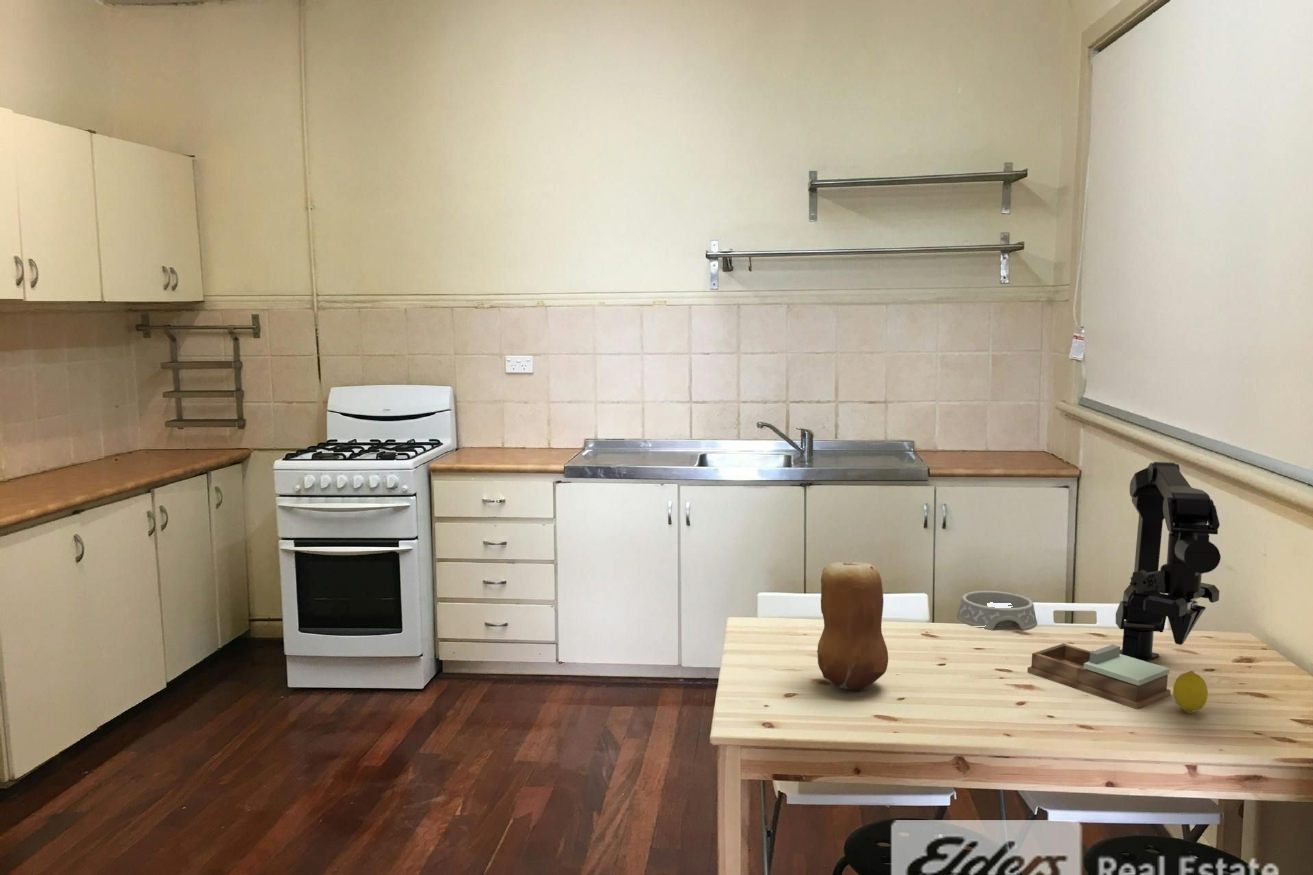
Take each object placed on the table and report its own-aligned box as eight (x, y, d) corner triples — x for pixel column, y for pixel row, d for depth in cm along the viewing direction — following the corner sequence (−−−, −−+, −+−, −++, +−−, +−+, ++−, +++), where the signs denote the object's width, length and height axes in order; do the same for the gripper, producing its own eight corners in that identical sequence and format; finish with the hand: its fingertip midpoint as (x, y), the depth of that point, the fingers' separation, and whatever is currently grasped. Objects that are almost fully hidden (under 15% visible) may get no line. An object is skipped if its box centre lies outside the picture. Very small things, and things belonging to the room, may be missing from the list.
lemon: (1197, 707, 185) (1201, 666, 184) (1211, 719, 179) (1214, 677, 178) (1166, 706, 185) (1169, 665, 184) (1179, 718, 180) (1182, 676, 179)
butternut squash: (842, 670, 203) (846, 550, 200) (900, 687, 194) (904, 562, 191) (801, 687, 194) (804, 562, 190) (859, 707, 184) (863, 575, 181)
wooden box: (1027, 672, 203) (1028, 653, 202) (1061, 660, 209) (1062, 642, 209) (1136, 708, 184) (1138, 688, 183) (1170, 694, 191) (1171, 674, 190)
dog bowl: (948, 609, 246) (949, 588, 246) (1023, 610, 246) (1024, 589, 245) (967, 631, 229) (968, 608, 229) (1048, 632, 229) (1049, 610, 228)
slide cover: (1083, 668, 193) (1084, 653, 192) (1114, 657, 199) (1115, 642, 199) (1138, 685, 184) (1139, 670, 183) (1169, 673, 190) (1170, 658, 190)
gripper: (1161, 546, 193) (1155, 624, 194) (1116, 559, 181) (1111, 643, 182) (1223, 556, 184) (1217, 638, 186) (1180, 571, 172) (1175, 658, 174)
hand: (1179, 643), depth 182 cm, fingers closed
